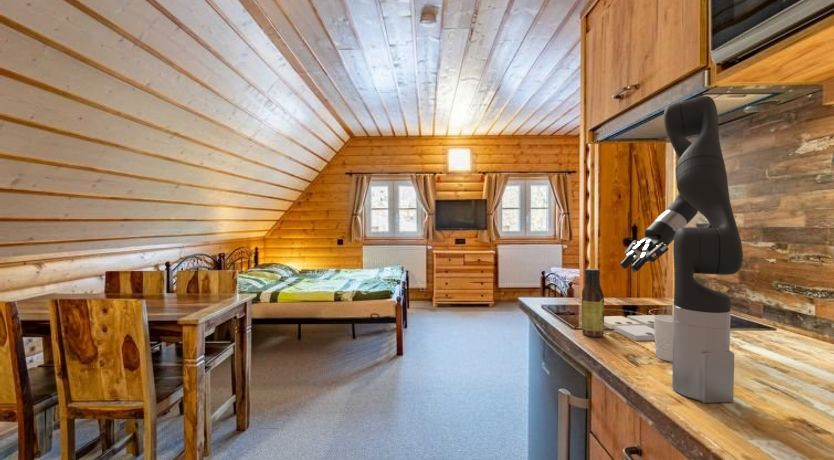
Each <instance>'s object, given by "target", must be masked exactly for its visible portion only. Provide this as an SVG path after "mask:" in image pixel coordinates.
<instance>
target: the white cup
mask: <svg viewBox="0 0 834 460" xmlns="http://www.w3.org/2000/svg"><path fill="white" fill-rule="evenodd" d="M673 319H674V315H672V314H656V315H655V316H654V328H653V329H654V335H655V340H654V346H655V356H656V357H657V358H658V359H660V360H662V361H666V362H670V363H673Z"/></svg>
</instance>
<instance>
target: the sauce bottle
mask: <svg viewBox="0 0 834 460" xmlns="http://www.w3.org/2000/svg"><path fill="white" fill-rule="evenodd" d="M600 270H601V269H599V268H585V269H584V274H585V285H584V286H583V288H582V290H581V329H582V334H583V335H584V336H586V337H587V336H588V337H590V338H591V337H592V338H601V337H603V336H604V335H605V333H604V331H605V326H604V316H605V294H604V293H603V290H602V286H601V284H600V274H601V272H600Z"/></svg>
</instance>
